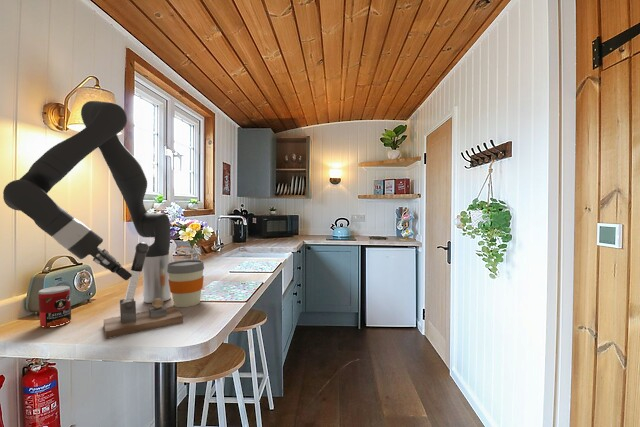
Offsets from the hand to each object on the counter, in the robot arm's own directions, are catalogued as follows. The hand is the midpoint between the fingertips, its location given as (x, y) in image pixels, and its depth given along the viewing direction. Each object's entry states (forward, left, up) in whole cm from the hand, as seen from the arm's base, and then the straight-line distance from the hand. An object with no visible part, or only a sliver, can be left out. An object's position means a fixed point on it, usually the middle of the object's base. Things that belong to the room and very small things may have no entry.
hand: (129, 277), depth 99 cm
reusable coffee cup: (-14, +19, -15) cm, 28 cm away
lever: (0, -1, -9) cm, 9 cm away
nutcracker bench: (0, +3, -15) cm, 15 cm away
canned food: (-18, -19, -15) cm, 30 cm away
